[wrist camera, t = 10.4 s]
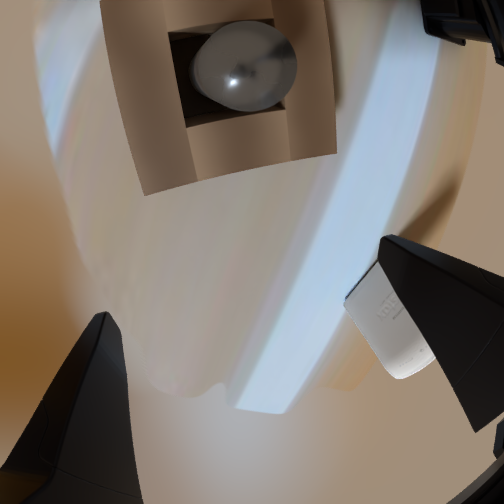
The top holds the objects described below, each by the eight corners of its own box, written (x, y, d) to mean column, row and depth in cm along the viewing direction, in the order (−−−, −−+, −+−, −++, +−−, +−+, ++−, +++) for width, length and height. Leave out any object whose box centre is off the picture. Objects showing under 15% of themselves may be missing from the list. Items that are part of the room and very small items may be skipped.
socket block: (292, -11, 13) (318, -25, 10) (310, 139, 20) (336, 153, 17) (113, 15, 11) (99, 0, 8) (149, 174, 19) (144, 196, 15)
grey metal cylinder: (244, 39, 15) (291, 18, 9) (252, 93, 17) (301, 104, 11) (184, 49, 14) (191, 27, 8) (194, 104, 17) (208, 119, 10)
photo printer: (393, 236, 28) (469, 312, 19) (409, 249, 31) (476, 319, 21) (335, 304, 32) (389, 390, 22) (355, 311, 34) (406, 388, 24)
